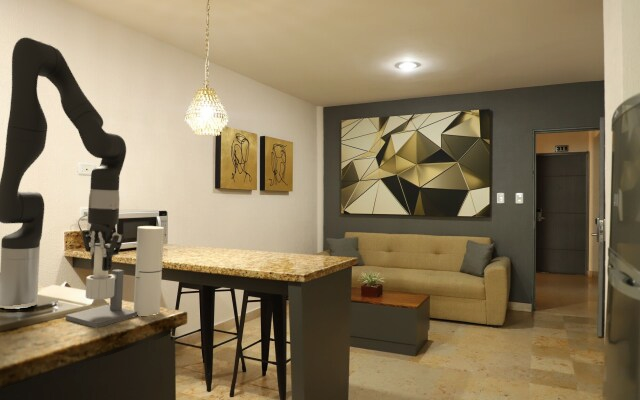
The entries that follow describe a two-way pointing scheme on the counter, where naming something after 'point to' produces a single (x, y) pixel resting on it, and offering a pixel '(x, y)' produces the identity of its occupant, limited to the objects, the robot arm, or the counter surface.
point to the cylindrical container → (148, 270)
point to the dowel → (99, 264)
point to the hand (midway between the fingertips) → (101, 269)
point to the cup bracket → (105, 313)
